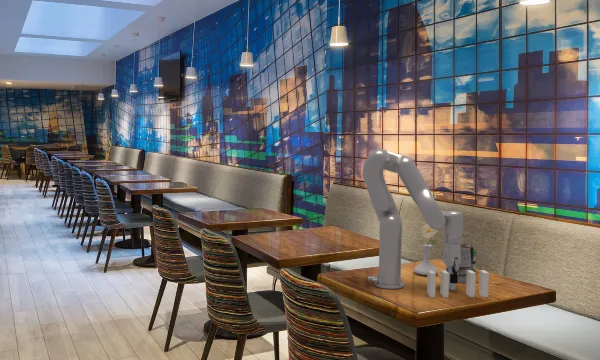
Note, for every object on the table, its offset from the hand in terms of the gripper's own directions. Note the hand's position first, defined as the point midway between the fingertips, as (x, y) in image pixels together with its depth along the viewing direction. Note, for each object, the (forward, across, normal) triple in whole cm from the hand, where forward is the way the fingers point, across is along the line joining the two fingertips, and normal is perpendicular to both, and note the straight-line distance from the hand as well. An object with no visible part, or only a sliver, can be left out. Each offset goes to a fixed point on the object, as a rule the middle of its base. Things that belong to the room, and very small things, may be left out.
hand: (451, 281), depth 255 cm
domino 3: (+3, 0, 0) cm, 3 cm away
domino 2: (+3, +11, -6) cm, 13 cm away
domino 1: (+3, +11, -12) cm, 17 cm away
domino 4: (+3, +11, +4) cm, 12 cm away
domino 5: (+3, +11, +10) cm, 15 cm away
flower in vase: (+3, -25, -4) cm, 26 cm away
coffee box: (+3, -13, +10) cm, 17 cm away
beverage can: (+4, -27, +16) cm, 32 cm away
